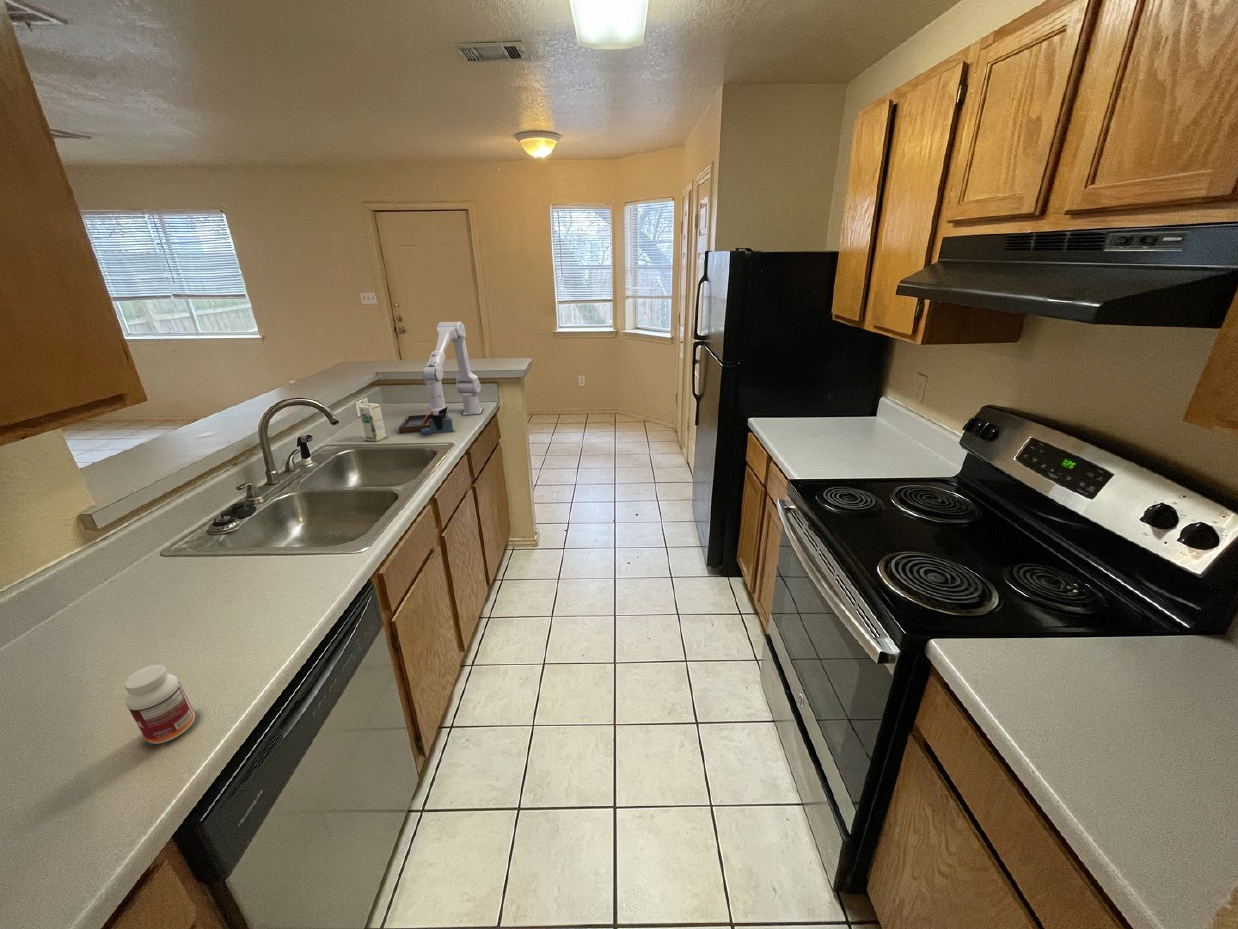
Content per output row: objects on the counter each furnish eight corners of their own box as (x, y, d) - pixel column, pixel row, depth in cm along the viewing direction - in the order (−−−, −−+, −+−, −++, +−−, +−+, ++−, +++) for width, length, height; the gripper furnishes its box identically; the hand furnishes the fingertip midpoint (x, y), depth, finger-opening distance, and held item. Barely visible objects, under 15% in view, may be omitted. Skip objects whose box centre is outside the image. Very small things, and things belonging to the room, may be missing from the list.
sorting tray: (408, 421, 231) (407, 415, 230) (448, 417, 233) (447, 412, 232) (399, 432, 215) (398, 427, 214) (443, 429, 218) (442, 423, 217)
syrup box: (365, 440, 207) (357, 406, 202) (376, 435, 212) (369, 402, 207) (376, 441, 205) (368, 407, 200) (387, 437, 210) (379, 403, 205)
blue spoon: (453, 429, 217) (451, 417, 215) (452, 432, 213) (450, 420, 211) (422, 432, 215) (420, 419, 213) (420, 435, 211) (418, 422, 209)
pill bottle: (149, 724, 81) (121, 672, 77) (197, 705, 84) (173, 654, 80) (143, 753, 76) (113, 699, 72) (194, 732, 79) (168, 679, 75)
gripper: (429, 392, 215) (434, 422, 220) (422, 400, 201) (428, 433, 206) (446, 391, 216) (451, 421, 221) (441, 399, 202) (446, 431, 207)
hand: (441, 427), depth 214 cm, fingers open, 7 cm apart
